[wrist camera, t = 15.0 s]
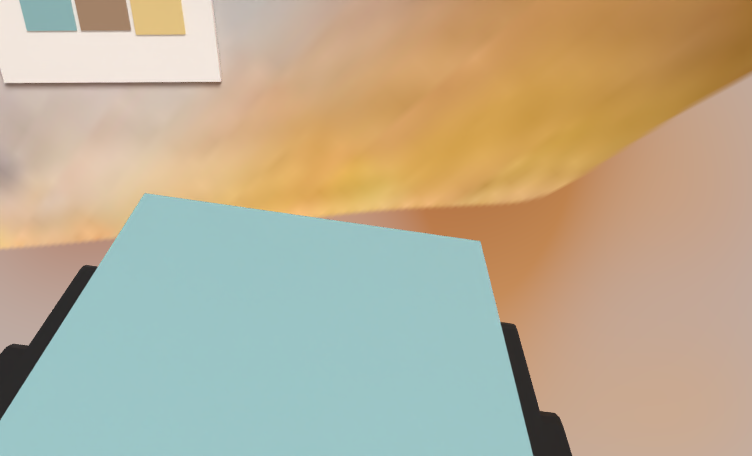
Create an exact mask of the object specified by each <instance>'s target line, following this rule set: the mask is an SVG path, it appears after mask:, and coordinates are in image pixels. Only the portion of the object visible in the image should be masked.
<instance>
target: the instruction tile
mask: <svg viewBox="0 0 752 456" xmlns="http://www.w3.org/2000/svg"><path fill="white" fill-rule="evenodd" d="M0 69H1V73H2V77H3V80H4V83H89V82H221V81H222V75H221V66H220V58H219V50H218V41H217V33H216V24H215V16H214V7H213V0H0Z"/></svg>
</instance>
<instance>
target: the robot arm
mask: <svg viewBox="0 0 752 456" xmlns="http://www.w3.org/2000/svg"><path fill="white" fill-rule="evenodd" d="M97 268H98V267H96V266H89V265H85V266H83V267H82V268H81V269H80V270H79V272H78V273H77V275H76V276H75V278H74V279H73V281H72V282H71V284H70V285H69V287H68V288H67V290H66V291H65V293H64V294H63V296H62V297H61V299H60V300H59V301H58V303H57V304H56V306H55V308H54V309H53V310H52V312H51V313H50V315H49V316H48V318H47V319H46V321H45V322H44V324H43V325H42V327H41V328H40V330H39V331H38V333H37V334H36V336H35V337H34V339H33V340H32V341H31V343H30V345H29V346H27V345H19V344H12V345H9V346H8V347H6V349H4V350H3V352H2V353H1V354H0V420H1V418H2V417H3V415H4V414H5V412H6V410H7V409H8V407H9V406H10V404H11V403H12V401H13V399H14V398H15V396H16V395H17V393H18V392H19V390H20V388H21V387H22V385H23V384H24V382H25V381H26V379H27V377H28V376H29V374H30V373H31V371H32V370H33V368H34V366H35V365H36V363H37V362H38V360H39V359H40V357H41V355H42V354H43V352H44V351H45V349H46V348H47V346H48V345H49V343H50V341H51V340H52V338H53V337H54V335H55V334H56V332H57V330H58V329H59V327H60V326H61V324H62V323H63V321H64V319H65V318H66V316H67V315H68V313H69V312H70V310H71V308H72V307H73V305H74V304H75V302H76V301H77V299H78V297H79V296H80V294H81V293H82V291H83V290H84V288H85V286H86V285H87V283H88V282H89V280H90V279H91V277H92V275H93V274H94V272H95V271H96V269H97ZM500 323H501V327H502V331H503V336H504V340H505V344H506V348H507V352H508V356H509V360H510V364H511V368H512V372H513V376H514V380H515V384H516V388H517V392H518V396H519V400H520V405H521V409H522V413H523V417H524V421H525V425H526V429H527V433H528V437H529V441H530V445H531V449H532V453H533V456H572V454H571V451H570V447H569V444H568V441H567V437H566V434H565V431H564V428H563V425H562V423H561V420H560V418H559V417H558V416H557V415H556V414H555V413H551V412H543V411H539V407H538V403H537V400H536V396H535V392H534V389H533V385H532V382H531V378H530V375H529V371H528V367H527V364H526V360H525V356H524V353H523V349H522V346H521V342H520V338H519V335H518V331H517V328H516V326H515V325H514V324H510V323H503V322H500Z"/></svg>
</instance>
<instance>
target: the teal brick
mask: <svg viewBox="0 0 752 456" xmlns="http://www.w3.org/2000/svg"><path fill="white" fill-rule="evenodd" d="M0 456H533V453H532V449H531V445H530V441H529V437H528V433H527V429H526V425H525V421H524V417H523V413H522V409H521V405H520V400H519V396H518V392H517V388H516V384H515V380H514V376H513V372H512V368H511V364H510V360H509V356H508V352H507V348H506V344H505V340H504V336H503V331H502V327H501V323H500V319H499V315H498V312H497V307H496V303H495V299H494V295H493V291H492V287H491V283H490V280H489V275H488V271H487V267H486V263H485V258H484V255H483V251H482V246H481V242H480V241H475V240H468V239H461V238H454V237H447V236H440V235H433V234H426V233H419V232H412V231H405V230H397V229H391V228H384V227H377V226H370V225H363V224H356V223H349V222H342V221H335V220H328V219H321V218H314V217H307V216H300V215H293V214H286V213H279V212H272V211H265V210H258V209H251V208H244V207H237V206H230V205H223V204H216V203H209V202H202V201H195V200H188V199H181V198H174V197H167V196H160V195H153V194H146V193H145V194H144V195H143V197H142V198H141V200H140V202H139V203H138V205H137V206H136V208H135V209H134V211H133V213H132V214H131V216H130V217H129V219H128V220H127V222H126V224H125V225H124V227H123V228H122V230H121V231H120V233H119V235H118V236H117V238H116V239H115V241H114V242H113V244H112V246H111V247H110V249H109V250H108V252H107V253H106V255H105V257H104V258H103V260H102V261H101V263H100V264H99V266H98V268H97V269H96V271H95V272H94V274H93V275H92V277H91V279H90V280H89V282H88V283H87V285H86V286H85V288H84V290H83V291H82V293H81V294H80V296H79V297H78V299H77V301H76V302H75V304H74V305H73V307H72V308H71V310H70V312H69V313H68V315H67V316H66V318H65V319H64V321H63V323H62V324H61V326H60V327H59V329H58V330H57V332H56V334H55V335H54V337H53V338H52V340H51V341H50V343H49V345H48V346H47V348H46V349H45V351H44V352H43V354H42V355H41V357H40V359H39V360H38V362H37V363H36V365H35V366H34V368H33V370H32V371H31V373H30V374H29V376H28V377H27V379H26V381H25V382H24V384H23V385H22V387H21V388H20V390H19V392H18V393H17V395H16V396H15V398H14V399H13V401H12V403H11V404H10V406H9V407H8V409H7V410H6V412H5V414H4V415H3V417H2V418H1V420H0Z"/></svg>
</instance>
